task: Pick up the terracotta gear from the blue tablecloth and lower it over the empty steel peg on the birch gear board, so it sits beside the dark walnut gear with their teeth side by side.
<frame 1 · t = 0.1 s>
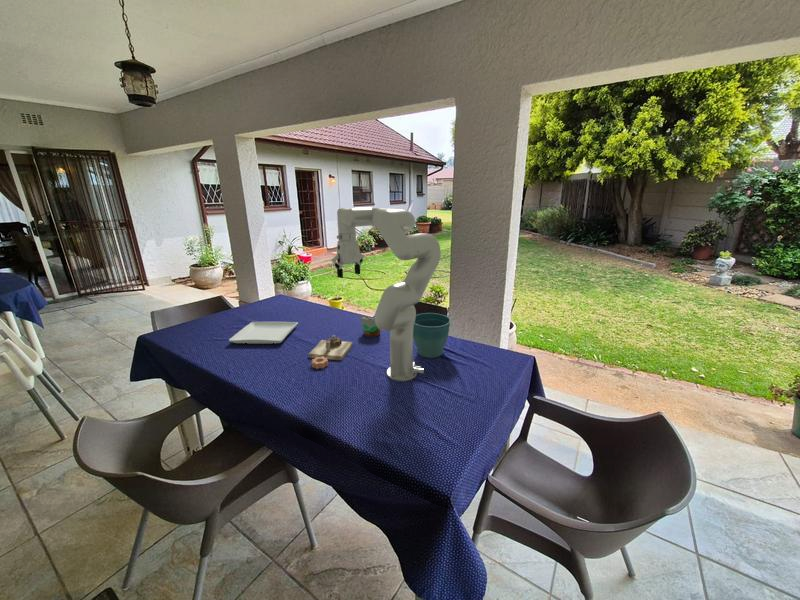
hand: (349, 275, 152), 37 cm above the table, tool pointing down, fingers open, 9 cm apart
gear board: (331, 351, 162), on the table
flower pot: (430, 353, 160), on the table
food container: (369, 335, 181), on the table
terracotta gear: (320, 365, 149), on the table
square plate: (266, 336, 182), on the table
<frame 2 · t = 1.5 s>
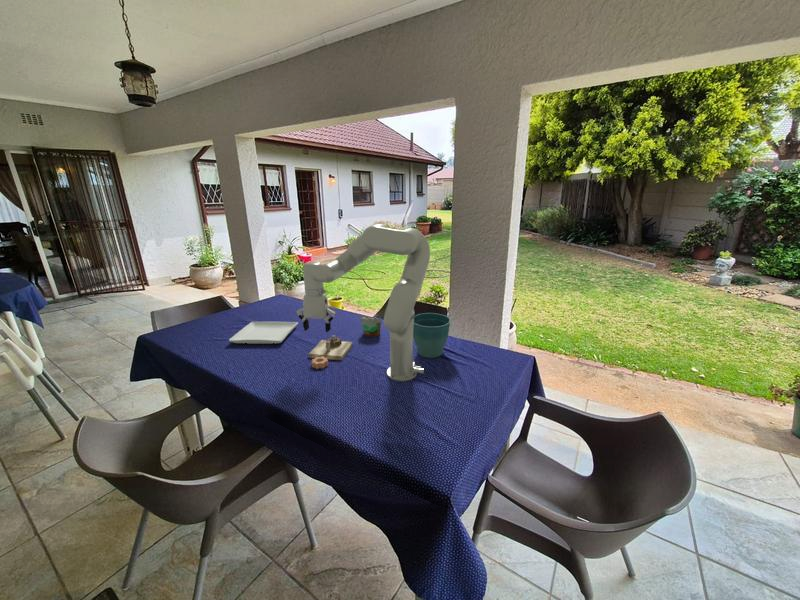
hand: (317, 330, 144), 17 cm above the table, tool pointing down, fingers open, 9 cm apart
nothing on the table moved.
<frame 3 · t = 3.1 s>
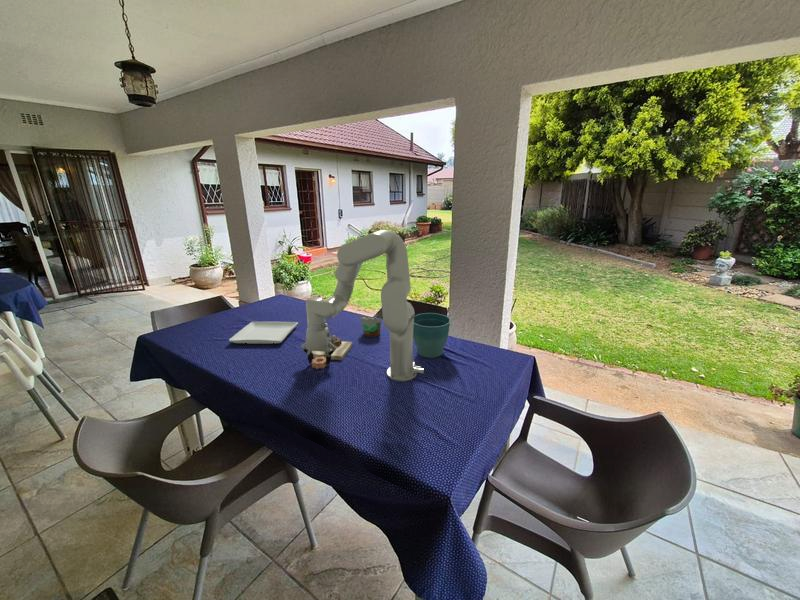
hand: (319, 362, 149), 1 cm above the table, tool pointing down, fingers closed on terracotta gear, 7 cm apart
terracotta gear: (320, 365, 149), on the table, touching gripper
everything else where it was.
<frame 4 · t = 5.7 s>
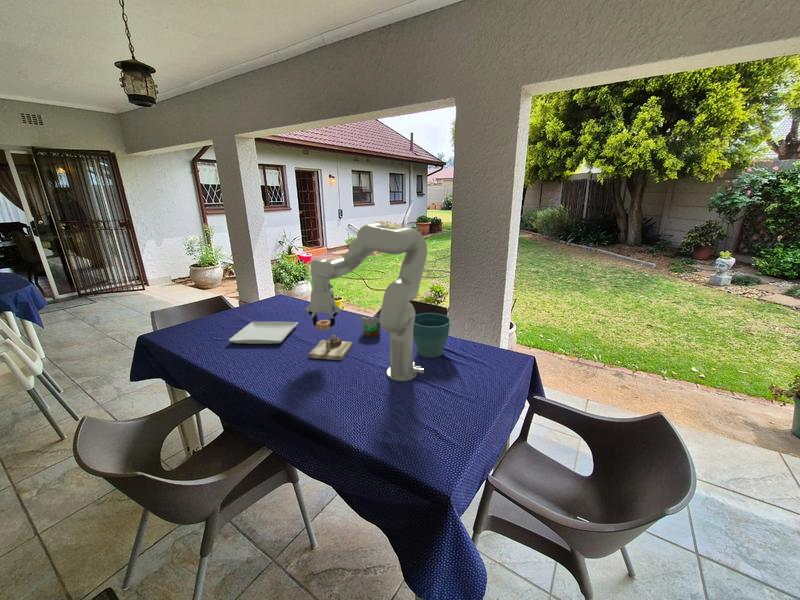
hand: (324, 325, 152), 16 cm above the table, tool pointing down, fingers closed on terracotta gear, 7 cm apart
terracotta gear: (324, 327, 152), point 15 cm above the table, touching gripper
everything else where it was.
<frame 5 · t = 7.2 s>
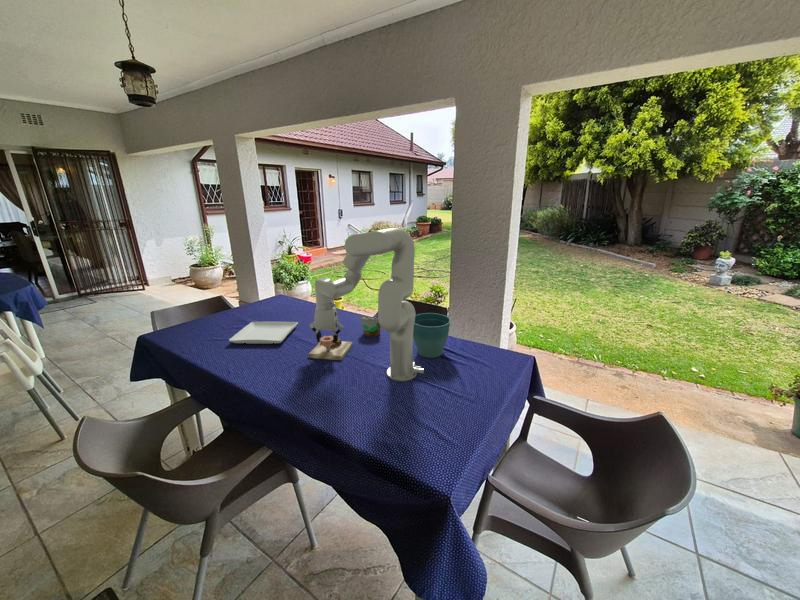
hand: (327, 341, 157), 7 cm above the table, tool pointing down, fingers closed on terracotta gear, 7 cm apart
terracotta gear: (327, 343, 157), point 6 cm above the table, touching gripper
everything else where it was.
when the fingers open (4 cm above the table, at t = 8.2 s): terracotta gear drops 1 cm, resting on gear board.
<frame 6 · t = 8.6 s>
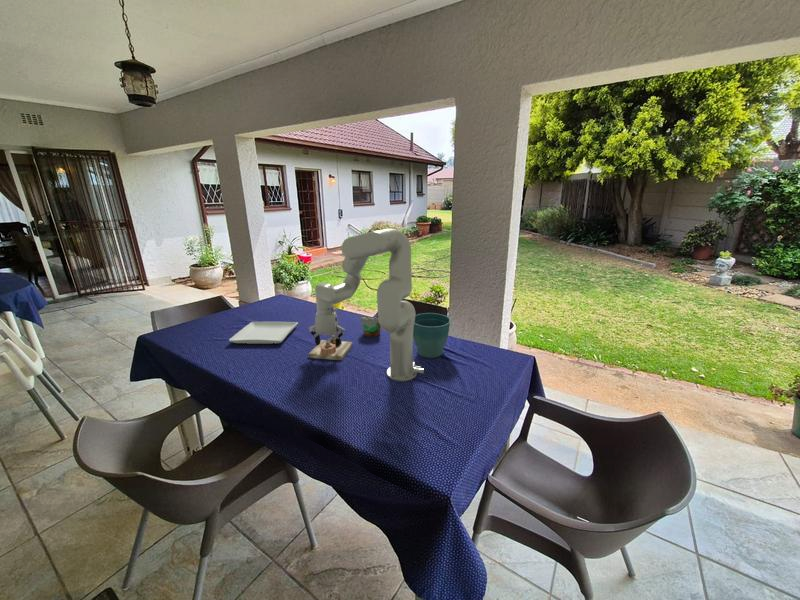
hand: (328, 345, 157), 5 cm above the table, tool pointing down, fingers open, 9 cm apart
terracotta gear: (328, 351, 158), point 2 cm above the table, touching gear board
everything else where it was.
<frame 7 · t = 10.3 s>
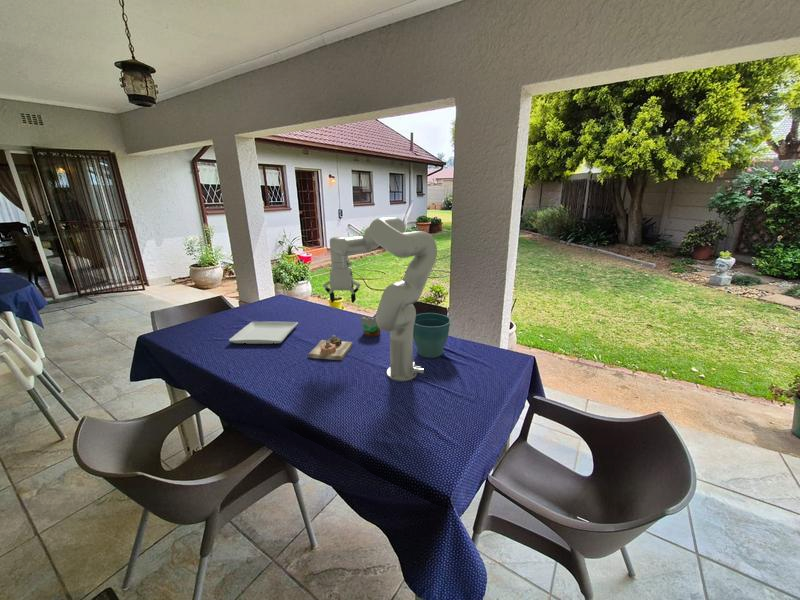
hand: (343, 301, 155), 25 cm above the table, tool pointing down, fingers open, 9 cm apart
nothing on the table moved.
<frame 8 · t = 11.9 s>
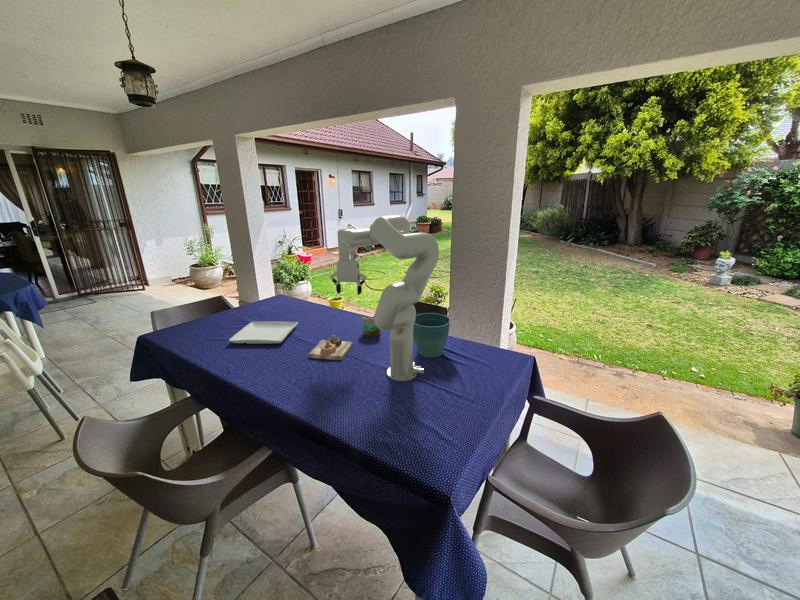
hand: (349, 293, 156), 28 cm above the table, tool pointing down, fingers open, 9 cm apart
nothing on the table moved.
at the end: terracotta gear 0.1 cm from the target spot on the gear board, point 2.0 cm above the gear board's base; terracotta gear tilted 0°; the gripper is holding nothing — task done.
